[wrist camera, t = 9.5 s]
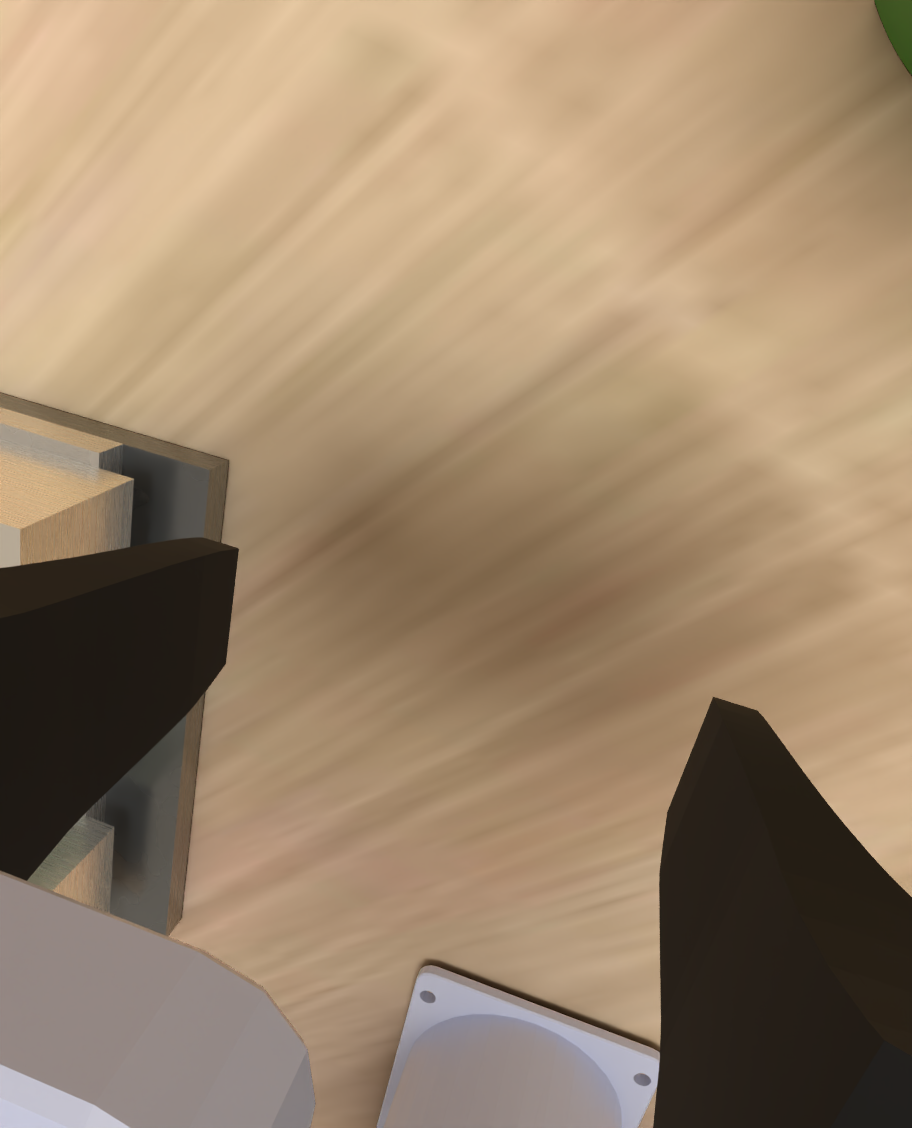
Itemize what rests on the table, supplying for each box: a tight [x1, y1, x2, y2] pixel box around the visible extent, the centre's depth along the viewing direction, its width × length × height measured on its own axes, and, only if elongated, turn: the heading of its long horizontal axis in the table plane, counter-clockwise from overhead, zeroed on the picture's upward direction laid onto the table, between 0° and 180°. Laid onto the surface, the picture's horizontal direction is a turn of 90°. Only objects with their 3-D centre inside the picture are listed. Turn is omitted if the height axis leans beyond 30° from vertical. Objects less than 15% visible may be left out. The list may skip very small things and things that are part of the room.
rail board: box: [0, 393, 229, 936], centre depth 24 cm, size 17×9×6 cm, turn 167°
